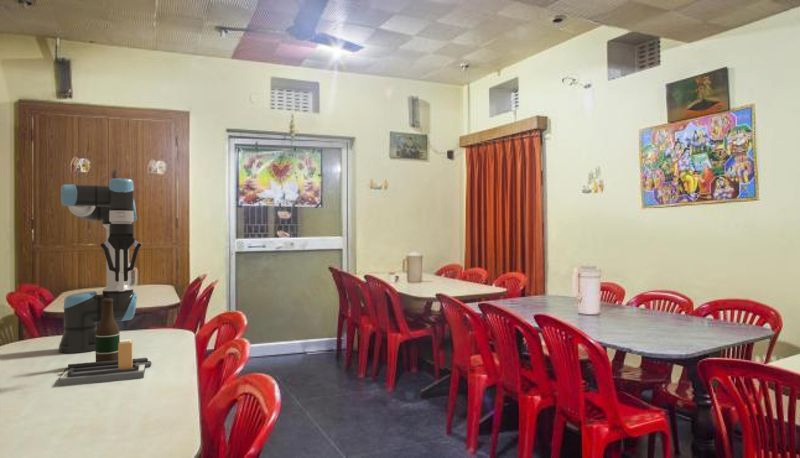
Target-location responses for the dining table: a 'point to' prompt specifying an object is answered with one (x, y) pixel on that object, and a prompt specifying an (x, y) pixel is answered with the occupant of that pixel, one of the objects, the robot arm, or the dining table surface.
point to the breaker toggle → (125, 354)
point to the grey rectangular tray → (101, 374)
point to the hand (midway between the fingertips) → (121, 290)
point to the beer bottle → (107, 334)
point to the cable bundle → (105, 364)
